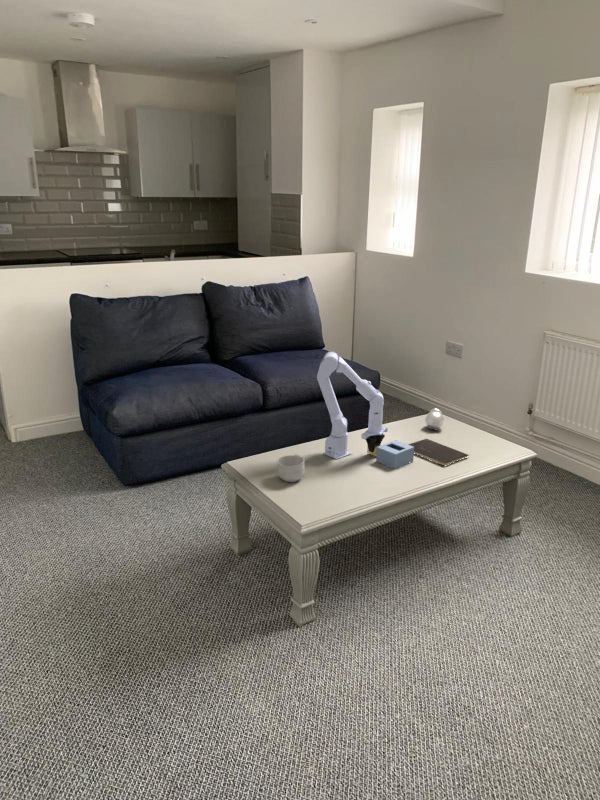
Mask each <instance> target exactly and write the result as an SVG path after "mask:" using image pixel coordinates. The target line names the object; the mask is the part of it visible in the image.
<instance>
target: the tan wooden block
mask: <svg viewBox="0 0 600 800" xmlns="http://www.w3.org/2000/svg"><path fill="white" fill-rule="evenodd" d="M366 446H367V447H366V454H369V455H371V456H373V457H376V456H377V447H378V446H381V444H380V445H379V444H376V443H375V446H374V452H373V453H372V452H370V451H369V449H368V445H366Z"/></svg>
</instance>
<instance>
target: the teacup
mask: <svg viewBox="0 0 600 800" xmlns="http://www.w3.org/2000/svg"><path fill="white" fill-rule="evenodd" d="M276 465H277V468H276V469H277V474H278V477H279V478H280V479H281V480H283V481H284V482H287V483H288V482H289V483H295V482H297V481H299V480H300V479H302V478H303V477H304V475H305V471H306V470H305V469H306V468H305V467H306V466H305V458H304V457H303V456H300V454H298V453H295V454H294V455H293V454H291V455H290V454H289V455H284V456H281V457H279V458H278V459H277V460H276Z"/></svg>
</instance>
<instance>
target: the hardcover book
mask: <svg viewBox="0 0 600 800" xmlns="http://www.w3.org/2000/svg"><path fill="white" fill-rule="evenodd" d="M408 445H410V446H413V447H414V453H415V454H418V455H420V456H423V457H425V458H428V459H430V460H432V461H434V462H437V463H439V464H442V465H444V466H445V465H447V466H449V465H448V464H450V463H453V462H455V461H457V460H460V459H462V458H465V457H467V456H469V454H467V453H464V452H462V451H459V450H457V449H456V448H455V449H454V448H451V447H449V446H447V445H444V444H441V443H438V442H436V441H434V440H431V439H429V438H424V439H422V440H417V441H415V442H412V443H409V444H408ZM415 454H414V455H415ZM418 455H417V456H418ZM420 456H419V457H420ZM425 458H424V459H425ZM430 460H429V461H430ZM432 461H431V462H432ZM434 462H433V463H434ZM437 463H436V464H437ZM455 463H456V462H455ZM439 464H438V465H439ZM453 464H454V463H453ZM442 465H441V466H442ZM450 465H451V464H450ZM444 466H443V467H444ZM445 467H446V466H445Z"/></svg>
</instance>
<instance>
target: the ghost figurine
mask: <svg viewBox="0 0 600 800" xmlns="http://www.w3.org/2000/svg"><path fill="white" fill-rule="evenodd" d="M424 422H425V425H426V426H427V428H428V429H430V430H433V429H437V430H439V429H442V427H443V426H444V424H445V417H444V416H443V412H442V411H441V410H440V409H439V408H436V407H434V408H432V409H430V411H429V412H428V413H427V414H426V416H425V419H424Z"/></svg>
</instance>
